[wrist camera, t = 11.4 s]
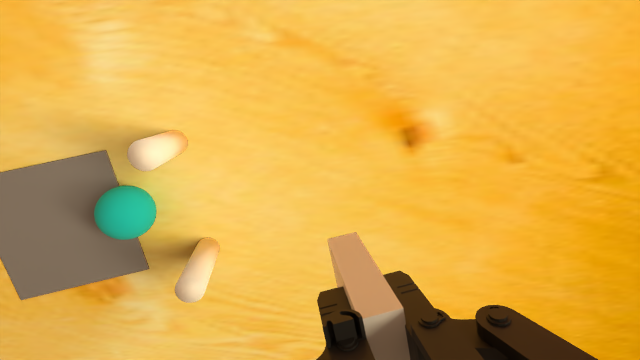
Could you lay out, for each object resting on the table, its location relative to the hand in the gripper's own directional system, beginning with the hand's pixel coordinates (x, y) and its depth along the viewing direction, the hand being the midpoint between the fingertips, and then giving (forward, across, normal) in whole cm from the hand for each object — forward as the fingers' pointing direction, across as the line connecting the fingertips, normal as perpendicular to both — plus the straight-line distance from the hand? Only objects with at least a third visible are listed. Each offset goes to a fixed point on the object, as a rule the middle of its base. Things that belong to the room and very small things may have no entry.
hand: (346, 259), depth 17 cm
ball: (+20, +19, -1) cm, 27 cm away
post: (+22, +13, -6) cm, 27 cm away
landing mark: (+22, +27, 0) cm, 35 cm away
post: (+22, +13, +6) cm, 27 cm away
